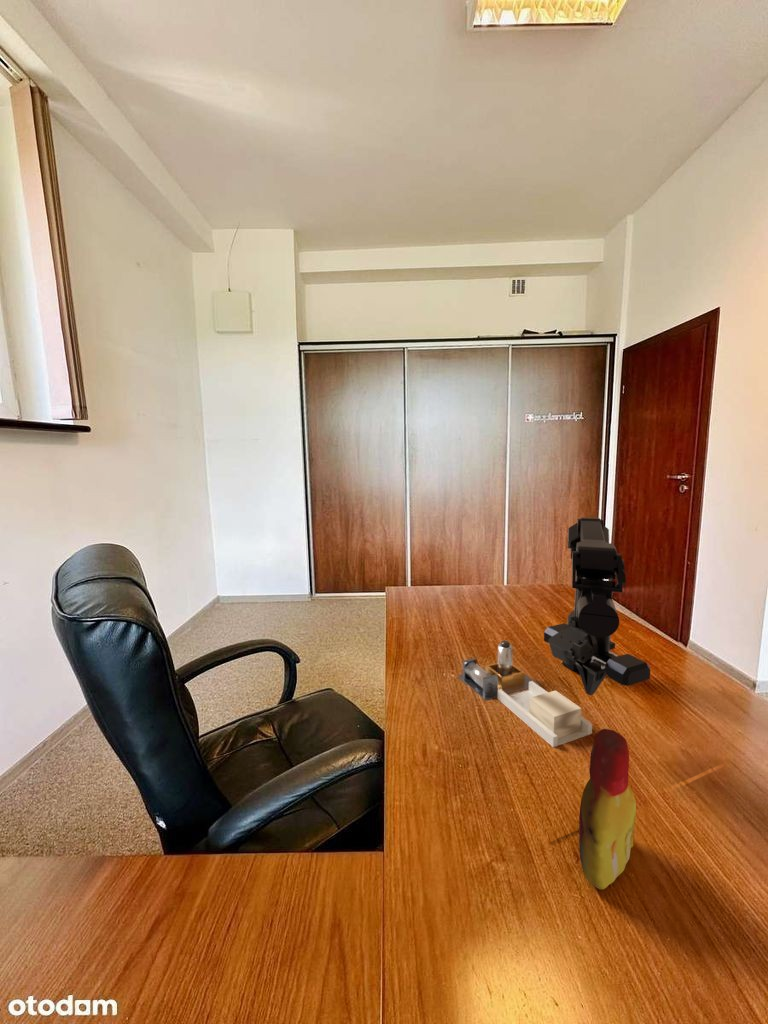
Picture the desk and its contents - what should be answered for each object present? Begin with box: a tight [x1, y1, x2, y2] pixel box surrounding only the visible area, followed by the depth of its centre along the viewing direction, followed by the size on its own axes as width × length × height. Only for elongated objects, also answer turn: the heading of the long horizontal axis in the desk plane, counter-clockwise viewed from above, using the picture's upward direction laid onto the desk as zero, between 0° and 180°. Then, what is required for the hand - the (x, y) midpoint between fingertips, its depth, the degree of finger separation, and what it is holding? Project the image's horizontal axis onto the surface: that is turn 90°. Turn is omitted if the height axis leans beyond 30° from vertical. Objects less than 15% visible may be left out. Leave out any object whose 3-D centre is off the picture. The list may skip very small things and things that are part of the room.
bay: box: [497, 681, 593, 748], centre depth 89 cm, size 10×18×2 cm, turn 21°
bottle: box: [578, 728, 637, 890], centre depth 56 cm, size 12×6×20 cm, turn 134°
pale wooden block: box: [529, 689, 582, 739], centre depth 86 cm, size 7×8×5 cm
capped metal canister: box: [497, 640, 514, 677], centre depth 103 cm, size 4×4×10 cm
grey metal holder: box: [457, 657, 541, 701], centre depth 103 cm, size 16×12×5 cm
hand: (589, 694), depth 76 cm, fingers closed
